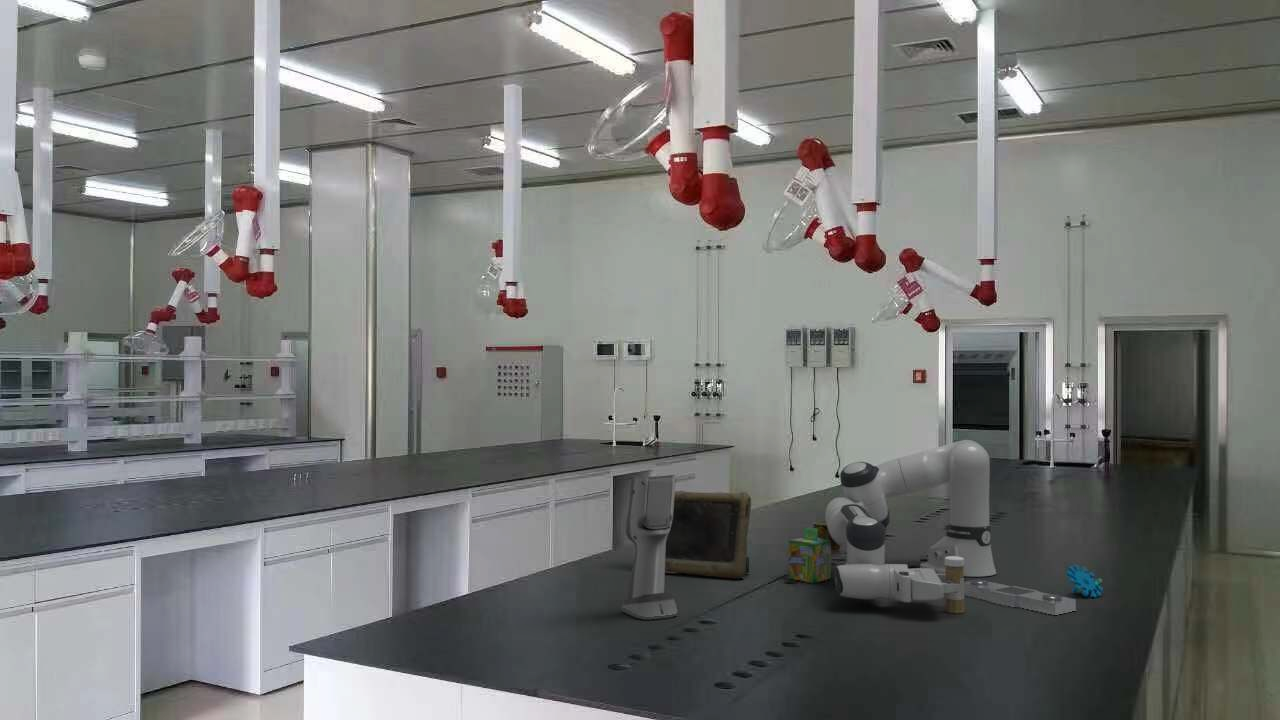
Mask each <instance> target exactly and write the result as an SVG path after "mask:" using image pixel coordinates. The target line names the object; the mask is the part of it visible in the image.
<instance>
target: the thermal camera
mask: <svg viewBox="0 0 1280 720" xmlns="http://www.w3.org/2000/svg"><path fill="white" fill-rule="evenodd" d="M676 479H677V478H676V475H674V474H671V475H667V474H666V475H659V476H658V475H657V476H639V477H632V478H631V480H630V488H629V489H630V491H629V502H628V508H627V509H628V510H627V517H626V524H625V525H626V526H625V535H626V537H627V539H628V540H629V541H631V542H632V543H633V544H634V545H635V555H634V560H633V565H632V570H631V575H630V580H629V585H628V594H627V595H628V596H627V600H626V601H624V602H623V604H621V608H622V607H623V608H626V609H627V610H629V611H631V612H632V613H634V614H637V615H639V616H644V617H654V616H665V615H672V614H676V613H677V612H678V609H677V608H678V607H677V604H676V602H675V601H676V600H675V599H674V597H673V595H672V594H671V593H669V592H665V576H666V573H665V552H666V539H667V536H668V534H669V531H670V529H671V524H672V519H673V511H674V496H675V491H676Z"/></svg>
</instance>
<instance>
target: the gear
mask: <svg viewBox="0 0 1280 720" xmlns="http://www.w3.org/2000/svg"><path fill="white" fill-rule="evenodd" d="M1079 569H1080V570H1079ZM1067 570H1068V571H1067V572H1066V574H1065V575H1066V576H1068V577H1070V578H1068V582H1069V584H1074V585H1075V586H1074V587H1073V589H1071V593H1072V592H1074V593H1075V594H1076V593H1077V592H1079V590H1083V591H1082V592H1081V594H1082V595H1083V596H1084V597H1087V596H1089V597H1090V598H1091V597H1095V598H1098V596H1099V597H1101V596H1102V594H1103V593H1102V591H1103V590H1104V588H1103V586H1100V584H1101V583H1102V582H1103V580H1102V578H1097V579H1095V578H1094V577H1095V575H1096V574H1094V573H1093V572H1092V571H1091V572H1089V573H1086V572H1087V570H1088V569H1087V567H1085V566H1082V567H1081V568H1080V566H1079V565H1077V564H1074V565H1073V566H1072V565H1071V566H1069V567H1068V568H1067ZM1088 591H1089V592H1088ZM1074 593H1073V594H1074ZM1089 593H1090V595H1089Z"/></svg>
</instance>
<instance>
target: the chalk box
mask: <svg viewBox="0 0 1280 720" xmlns="http://www.w3.org/2000/svg"><path fill="white" fill-rule="evenodd" d="M809 533H813V536H809ZM789 578H790V579H796V580H801V581H800V582H802V581H806V582H805V583H807V582H811V583H810V584H812V583H815V584H817V582H818V583H821V582H820V581H822V582H824V580H825V581H828V580H827V579H829V580H832V554H831V541H830V540H827V539H821V538H818V529H816V528H814V527H804V531H803V534H802V537H800V538H798V537H797V538H793V539H789V540H788V579H789ZM796 580H795V581H796Z"/></svg>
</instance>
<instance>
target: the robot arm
mask: <svg viewBox="0 0 1280 720" xmlns="http://www.w3.org/2000/svg"><path fill="white" fill-rule="evenodd" d="M989 455H990V454H988V452H987V450H986V449H985V448H984V447H983V446H982V444H979V443H978V442H977V441H974V440H970V439H963V440H959V441H955V442H952V443H948V444H945V445H941V446H938V447H935V448H931V449H929V450H925V451H922V452H918V453H917V452H916V453H913V454H910V455H906V456H902V457H898V458H894V459H891V460H888V461H885V462H883V463H880V464H877V465H873V464H871V463H869V462H865V461H857V462H852V463H850V464H848V465H846V466H844V467H843V468H842V470H841V472H840V478H839V479H840V484H841V486H842V490H843V491H842V492H843V494H844V496H843V497H842V496H841V497H840V496H839V497H835V498H833V499H832V500H830V502H828V504H827V506H826V508H825V520H826V524H827V527H828V530H829V533H830V535H831V537H832V538H833V540H834V541H835V542H836V543H837V544H839V545H840V547H843V548H846V561H845V563H844V564H840V565H836V566H835V568H834V573H833V580H834V586H835V590H836V592H837V594H838V595H839V596H841V597H844V598H848V599H856V600H857V599H858V600H875V599H882V600H883V599H884V600H887V601H901V602H903V603H911V602H912V600H913V601H929V600H931V601H932V600H934V601H935V600H940V599H943V598H944V594H946V593H950V592H960V591H961V584H959V583H953V584H946V566H945V557H948V556H957V557H962V558H964V567H963V575H964V577H989V576H990V577H991V576H995V575H997V570H996V567H995V563H994V558H993V552H992V544H991V541H992V526H991V524H990V477H991V476H990V475H991V474H990V467H991V466H990V462H991V461H990V456H989ZM948 483H949V519H950V523H949V524H948V525H943V526H942V527H943V531H946V532H945V536H943V537H942V538H941V539H939V541H937V542H935V543H934V544H933V545H931V546H930V548H929V549H928V553H927V554H928V555H927V561H925V562H922V563H920V565H919V567H917V568H916V567H914V568H909V567H908V564H905V563H904V564H903V563H885V562H886V561H885V559H886V558H885V557H886V554H885V551H886V549H885V548H886V547H885V543H886V533H887V527H888V526H889V524H890V522H891V517H890V511H889V510H888V505H887V500H886V498H891V497H898V496H899V497H900V496H906V495H908V494H912V493H913V494H914V493H918V492H921V491H924V490H925V491H926V490H929V489H933V488H936V487H939V486H942V485H945V484H948Z"/></svg>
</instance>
